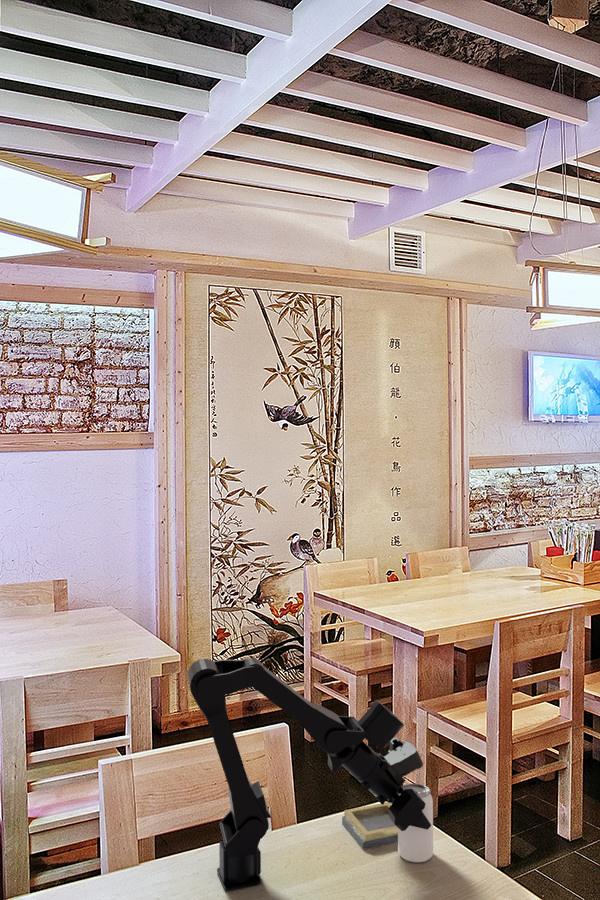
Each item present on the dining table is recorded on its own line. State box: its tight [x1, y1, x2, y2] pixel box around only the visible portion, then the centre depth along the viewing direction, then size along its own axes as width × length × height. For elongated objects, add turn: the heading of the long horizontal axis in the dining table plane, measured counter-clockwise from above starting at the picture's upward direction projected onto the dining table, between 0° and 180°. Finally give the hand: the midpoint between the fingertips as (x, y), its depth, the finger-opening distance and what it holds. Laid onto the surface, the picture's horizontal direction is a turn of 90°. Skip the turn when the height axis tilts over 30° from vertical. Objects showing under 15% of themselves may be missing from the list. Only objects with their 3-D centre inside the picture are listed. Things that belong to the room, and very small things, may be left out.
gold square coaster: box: [341, 802, 398, 850], centre depth 150 cm, size 11×10×3 cm
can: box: [397, 783, 434, 864], centre depth 141 cm, size 6×6×12 cm
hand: (423, 818), depth 141 cm, fingers closed on can, 6 cm apart
